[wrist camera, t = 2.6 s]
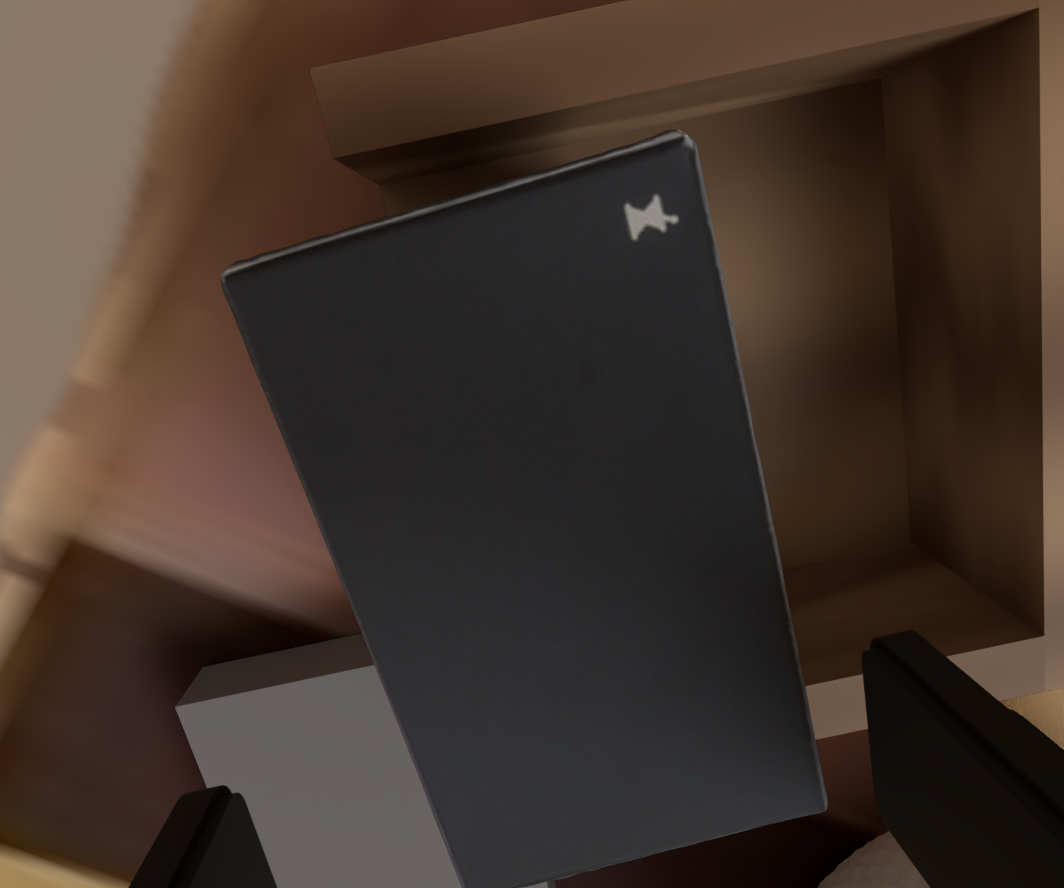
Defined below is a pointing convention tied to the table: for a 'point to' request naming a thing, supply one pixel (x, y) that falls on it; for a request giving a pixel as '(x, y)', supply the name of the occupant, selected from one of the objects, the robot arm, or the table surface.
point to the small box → (547, 509)
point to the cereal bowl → (876, 868)
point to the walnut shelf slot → (822, 277)
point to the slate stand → (318, 767)
